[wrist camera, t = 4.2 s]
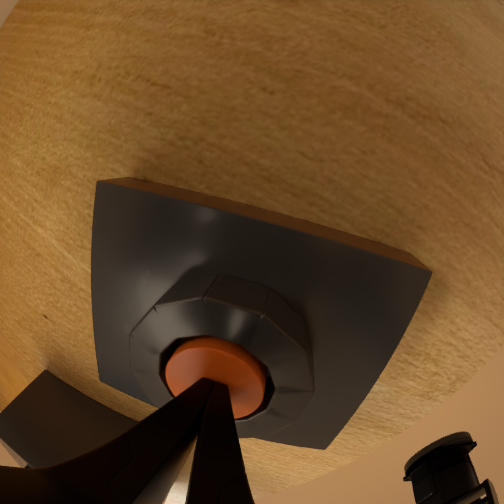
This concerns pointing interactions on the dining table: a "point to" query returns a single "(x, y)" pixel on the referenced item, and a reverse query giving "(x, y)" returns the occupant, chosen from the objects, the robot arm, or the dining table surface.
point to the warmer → (56, 424)
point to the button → (219, 370)
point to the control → (246, 302)
